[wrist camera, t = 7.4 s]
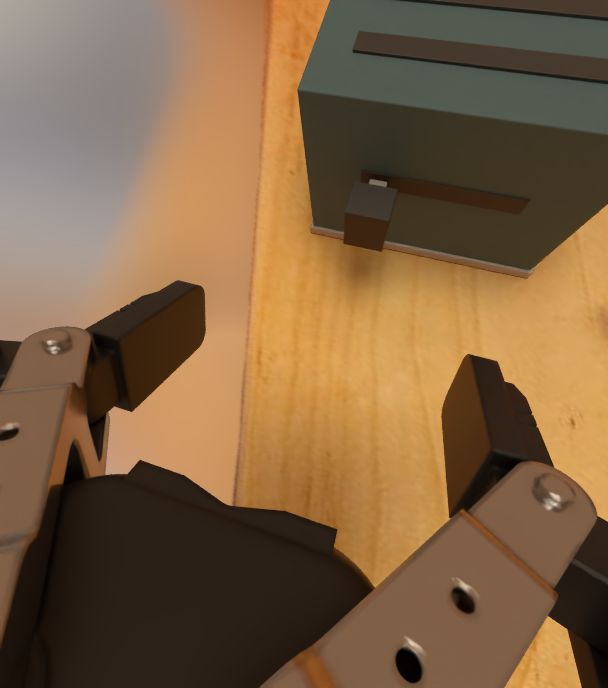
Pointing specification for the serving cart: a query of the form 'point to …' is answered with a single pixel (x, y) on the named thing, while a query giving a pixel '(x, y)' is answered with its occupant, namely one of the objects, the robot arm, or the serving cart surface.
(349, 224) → the slider
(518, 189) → the toaster
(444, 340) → the serving cart surface
